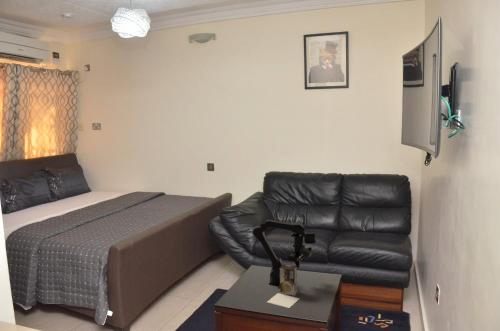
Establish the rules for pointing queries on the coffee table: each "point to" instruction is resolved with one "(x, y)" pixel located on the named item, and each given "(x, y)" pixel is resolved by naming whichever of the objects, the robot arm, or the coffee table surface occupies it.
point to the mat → (283, 300)
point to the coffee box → (288, 280)
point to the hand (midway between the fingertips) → (298, 267)
